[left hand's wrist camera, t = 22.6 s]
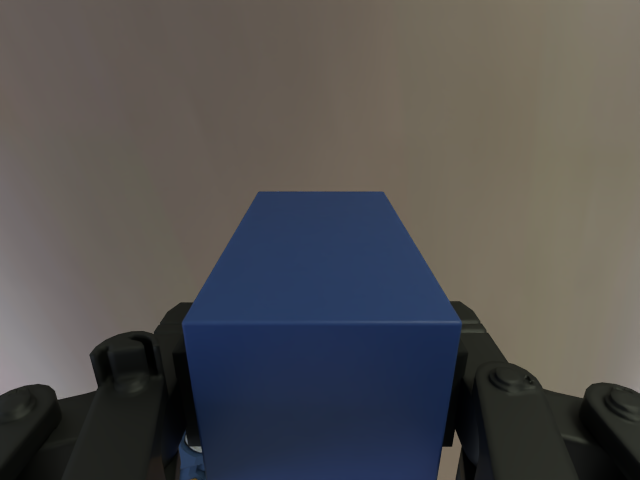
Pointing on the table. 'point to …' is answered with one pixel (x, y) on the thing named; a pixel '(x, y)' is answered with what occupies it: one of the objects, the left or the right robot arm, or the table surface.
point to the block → (321, 345)
